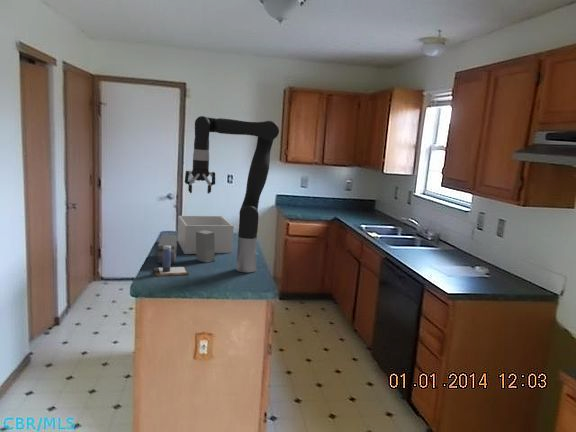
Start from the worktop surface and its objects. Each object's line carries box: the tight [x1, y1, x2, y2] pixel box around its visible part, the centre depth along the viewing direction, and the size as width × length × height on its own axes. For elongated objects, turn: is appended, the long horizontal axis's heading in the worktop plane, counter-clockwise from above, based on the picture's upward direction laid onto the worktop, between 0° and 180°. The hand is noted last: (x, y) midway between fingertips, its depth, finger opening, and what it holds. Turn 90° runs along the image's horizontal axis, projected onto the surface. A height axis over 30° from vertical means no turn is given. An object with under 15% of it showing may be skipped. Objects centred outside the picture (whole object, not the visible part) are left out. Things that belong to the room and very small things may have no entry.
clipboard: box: [153, 266, 190, 277], centre depth 213 cm, size 15×11×2 cm
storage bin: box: [177, 215, 235, 255], centre depth 266 cm, size 27×31×16 cm
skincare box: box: [195, 230, 216, 263], centre depth 237 cm, size 8×7×16 cm
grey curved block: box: [157, 234, 178, 265], centre depth 232 cm, size 25×8×11 cm, turn 10°
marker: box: [161, 245, 172, 272], centre depth 210 cm, size 4×4×12 cm
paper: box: [158, 266, 186, 274], centre depth 213 cm, size 12×9×1 cm
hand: (199, 193), depth 214 cm, fingers open, 8 cm apart
